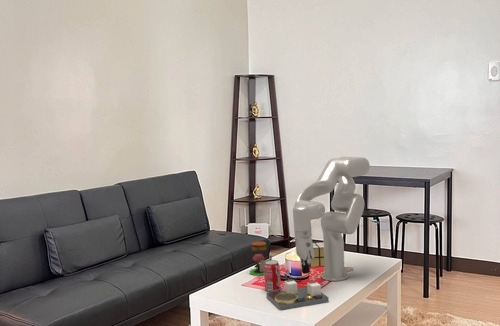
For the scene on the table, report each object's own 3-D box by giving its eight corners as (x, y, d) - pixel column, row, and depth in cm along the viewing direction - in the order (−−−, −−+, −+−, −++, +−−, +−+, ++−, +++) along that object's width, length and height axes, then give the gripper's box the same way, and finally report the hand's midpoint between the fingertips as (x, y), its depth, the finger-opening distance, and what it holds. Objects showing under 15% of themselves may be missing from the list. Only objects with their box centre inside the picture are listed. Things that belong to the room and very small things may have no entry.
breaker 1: (293, 289, 240) (292, 279, 240) (297, 293, 236) (297, 282, 235) (284, 290, 239) (284, 280, 239) (288, 294, 234) (288, 283, 234)
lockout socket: (292, 294, 235) (292, 291, 235) (301, 301, 226) (301, 298, 226) (271, 297, 232) (271, 294, 232) (279, 305, 223) (279, 302, 223)
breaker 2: (315, 291, 237) (315, 280, 236) (321, 295, 232) (320, 284, 232) (307, 292, 236) (307, 282, 235) (312, 296, 231) (312, 285, 230)
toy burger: (244, 276, 269) (243, 246, 268) (252, 268, 281) (251, 239, 279) (267, 277, 266) (266, 247, 264) (274, 269, 277) (273, 240, 276)
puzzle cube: (306, 262, 289) (305, 243, 287) (324, 260, 290) (324, 242, 288) (310, 267, 279) (309, 248, 278) (329, 266, 280) (328, 247, 279)
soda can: (279, 292, 244) (278, 264, 242) (263, 292, 245) (262, 264, 244) (281, 287, 251) (280, 259, 249) (266, 287, 252) (265, 259, 251)
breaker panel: (312, 290, 245) (312, 283, 245) (328, 302, 230) (328, 295, 230) (266, 297, 238) (266, 290, 238) (279, 310, 223) (279, 303, 223)
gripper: (318, 235, 235) (320, 276, 238) (303, 227, 249) (306, 266, 252) (302, 238, 233) (305, 279, 236) (288, 230, 247) (291, 269, 250)
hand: (305, 272), depth 244 cm, fingers closed
